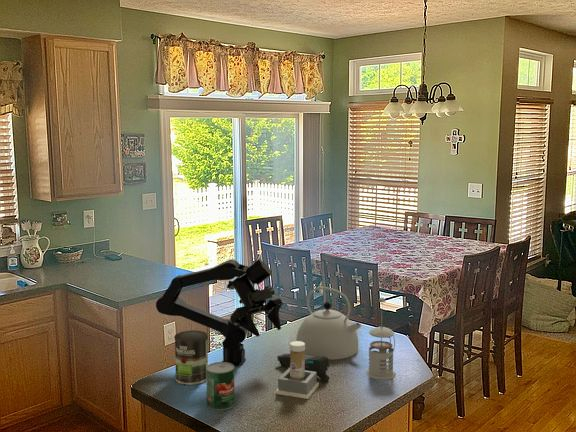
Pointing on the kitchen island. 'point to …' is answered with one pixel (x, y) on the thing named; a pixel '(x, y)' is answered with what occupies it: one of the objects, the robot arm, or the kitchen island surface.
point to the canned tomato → (220, 385)
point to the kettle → (328, 332)
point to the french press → (381, 353)
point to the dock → (297, 385)
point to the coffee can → (191, 357)
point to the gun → (309, 364)
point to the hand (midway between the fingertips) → (269, 332)
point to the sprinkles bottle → (297, 360)
